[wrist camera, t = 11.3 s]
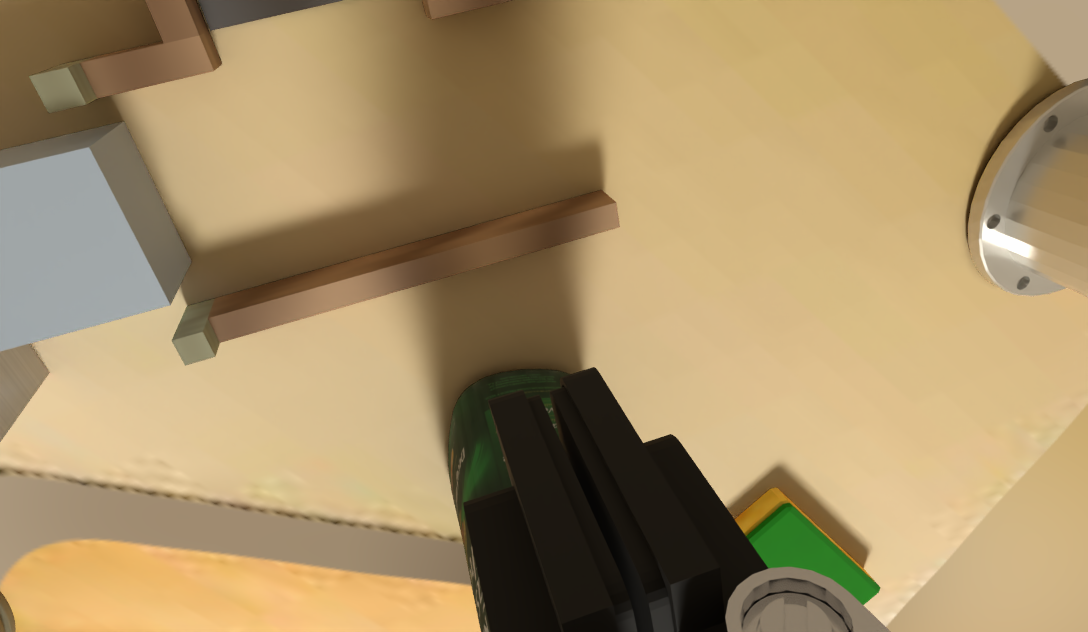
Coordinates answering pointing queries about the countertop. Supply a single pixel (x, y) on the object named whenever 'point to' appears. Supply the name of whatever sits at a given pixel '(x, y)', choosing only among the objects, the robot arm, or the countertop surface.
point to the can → (6, 616)
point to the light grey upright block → (18, 382)
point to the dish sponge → (801, 544)
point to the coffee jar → (487, 449)
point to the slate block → (82, 236)
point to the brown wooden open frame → (334, 285)
